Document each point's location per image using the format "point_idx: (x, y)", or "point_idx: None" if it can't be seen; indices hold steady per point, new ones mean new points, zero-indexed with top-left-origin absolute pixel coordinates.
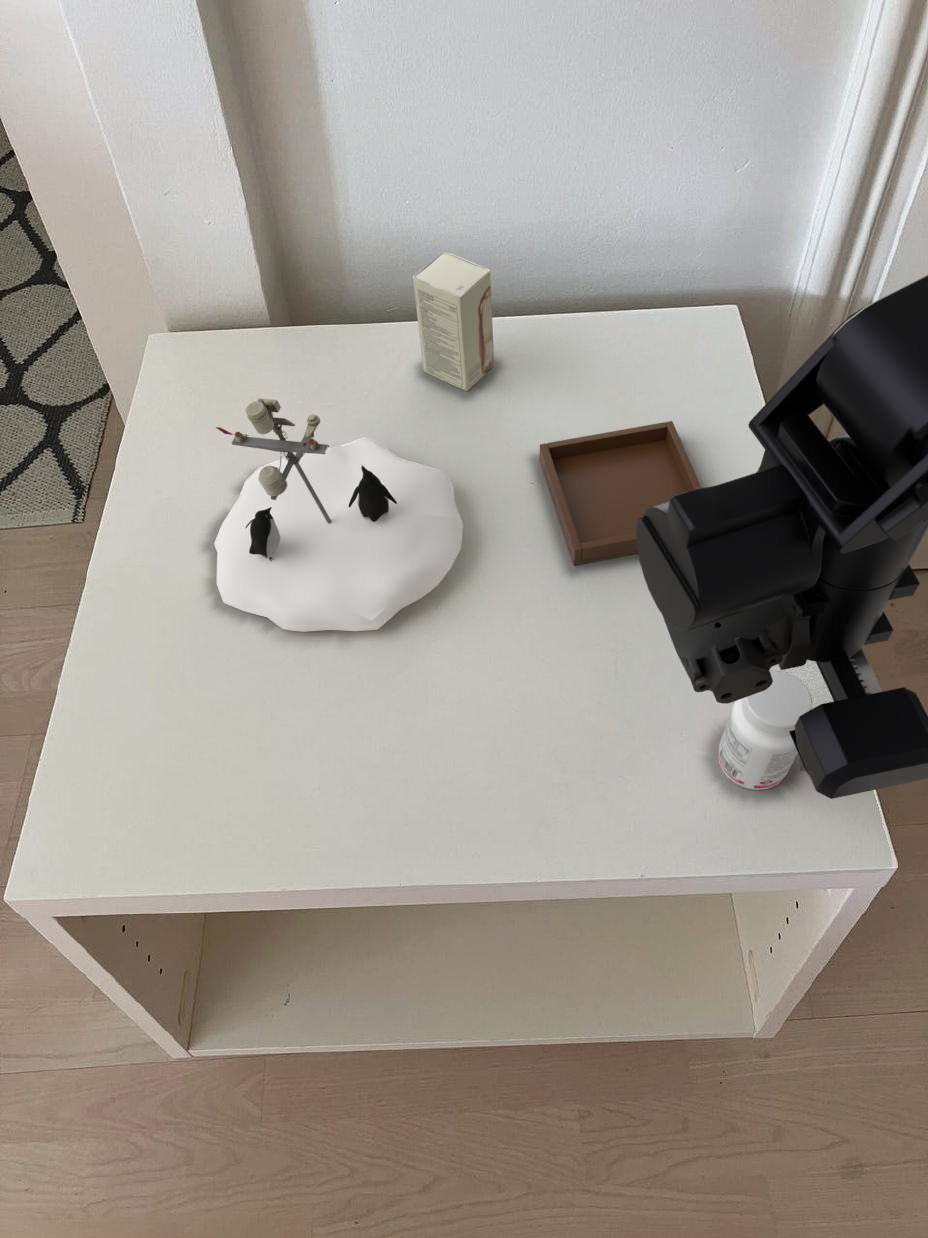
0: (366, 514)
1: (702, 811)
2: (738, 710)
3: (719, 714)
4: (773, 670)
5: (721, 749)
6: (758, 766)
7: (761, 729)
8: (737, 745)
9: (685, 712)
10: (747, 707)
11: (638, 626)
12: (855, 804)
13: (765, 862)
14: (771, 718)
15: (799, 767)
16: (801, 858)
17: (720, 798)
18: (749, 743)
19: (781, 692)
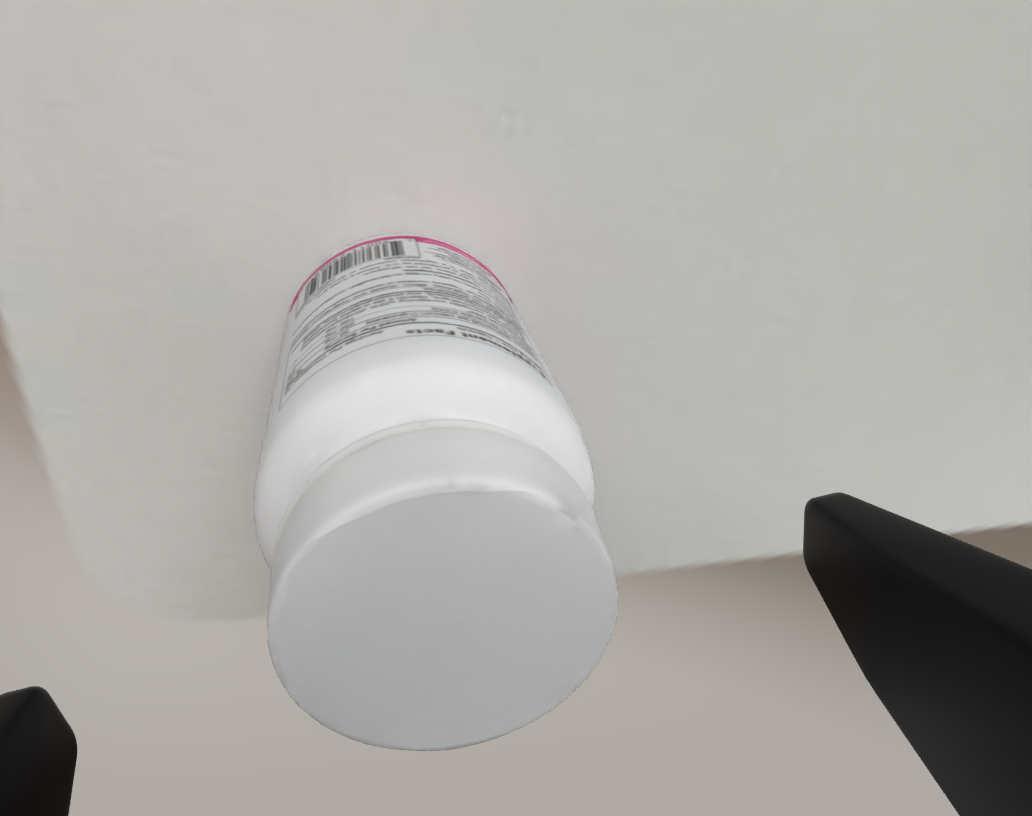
0: None
1: (188, 145)
2: (453, 389)
3: (574, 257)
4: (613, 614)
5: (402, 253)
6: (272, 396)
7: (297, 508)
8: (328, 339)
9: (594, 139)
10: (397, 478)
11: (970, 5)
12: (265, 588)
13: (18, 338)
14: (316, 594)
15: (16, 694)
16: (59, 443)
17: (250, 219)
18: (288, 410)
19: (479, 643)
